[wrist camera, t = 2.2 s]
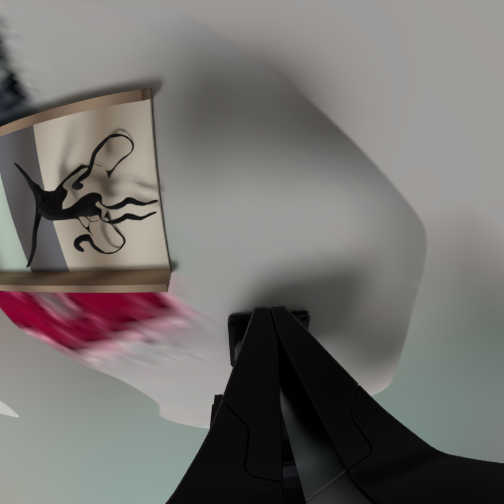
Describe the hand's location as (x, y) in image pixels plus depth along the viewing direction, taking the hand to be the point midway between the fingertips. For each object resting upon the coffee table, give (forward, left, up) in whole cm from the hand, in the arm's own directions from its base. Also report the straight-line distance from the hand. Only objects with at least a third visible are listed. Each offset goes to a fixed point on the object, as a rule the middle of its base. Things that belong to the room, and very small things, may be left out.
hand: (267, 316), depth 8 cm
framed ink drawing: (0, +17, -11) cm, 20 cm away
